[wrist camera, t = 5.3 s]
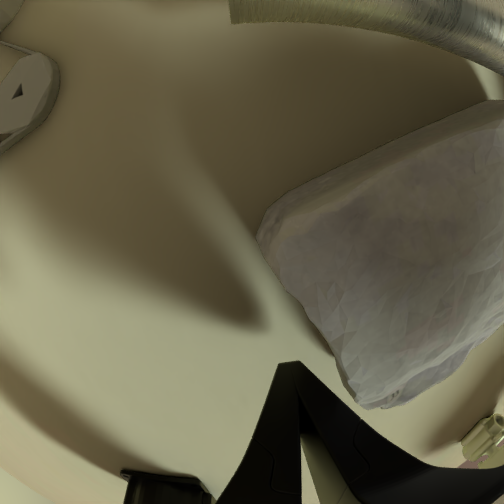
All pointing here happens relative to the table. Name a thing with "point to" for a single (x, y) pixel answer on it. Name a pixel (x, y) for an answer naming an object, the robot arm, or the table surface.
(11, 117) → the pulley system
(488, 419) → the pneumatic valve
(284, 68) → the table surface
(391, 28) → the linear shaft assembly
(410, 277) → the stone block
